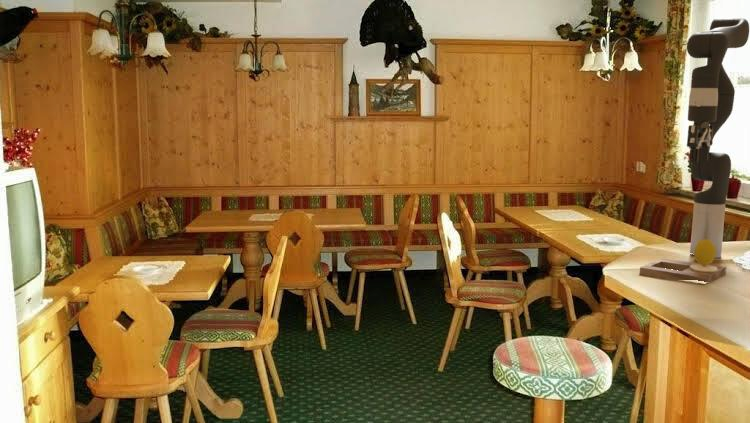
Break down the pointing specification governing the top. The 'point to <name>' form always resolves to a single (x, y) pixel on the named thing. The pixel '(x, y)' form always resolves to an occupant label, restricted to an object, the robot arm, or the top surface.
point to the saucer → (703, 268)
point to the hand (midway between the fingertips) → (698, 161)
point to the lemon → (705, 252)
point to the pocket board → (679, 270)
